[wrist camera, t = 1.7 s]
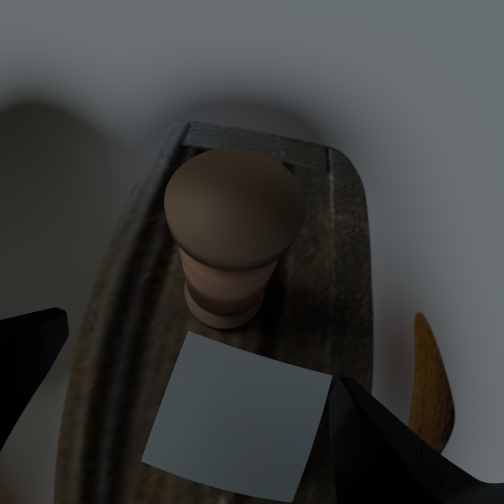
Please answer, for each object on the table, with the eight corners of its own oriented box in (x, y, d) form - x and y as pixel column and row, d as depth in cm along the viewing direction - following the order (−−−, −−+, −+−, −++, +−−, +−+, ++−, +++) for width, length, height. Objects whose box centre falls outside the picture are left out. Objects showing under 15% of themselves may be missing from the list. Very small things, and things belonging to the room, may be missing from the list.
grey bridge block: (277, 485, 16) (291, 502, 12) (153, 449, 16) (141, 460, 13) (312, 379, 20) (332, 375, 17) (192, 342, 20) (188, 330, 17)
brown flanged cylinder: (248, 341, 21) (287, 282, 10) (174, 314, 21) (139, 231, 11) (270, 272, 24) (315, 171, 13) (202, 249, 24) (199, 136, 14)
